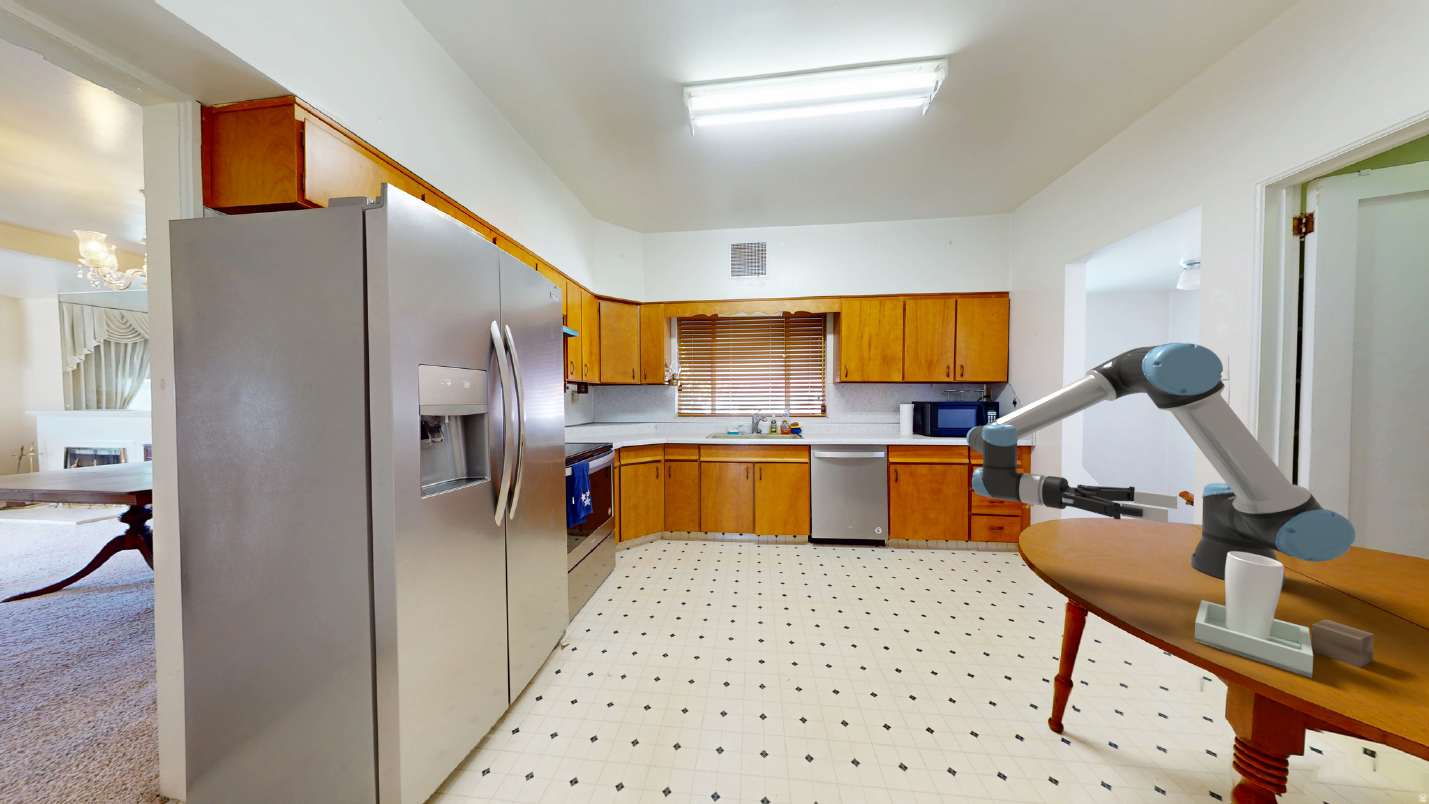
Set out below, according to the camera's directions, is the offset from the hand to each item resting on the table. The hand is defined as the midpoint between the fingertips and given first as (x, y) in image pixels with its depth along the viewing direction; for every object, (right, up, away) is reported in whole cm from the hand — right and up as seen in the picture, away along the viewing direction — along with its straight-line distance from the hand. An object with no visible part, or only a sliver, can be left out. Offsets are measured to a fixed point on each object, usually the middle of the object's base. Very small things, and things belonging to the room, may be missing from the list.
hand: (1172, 508), depth 87 cm
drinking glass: (+8, -23, -5) cm, 25 cm away
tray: (+7, -24, -7) cm, 26 cm away
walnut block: (+19, -24, -11) cm, 32 cm away
